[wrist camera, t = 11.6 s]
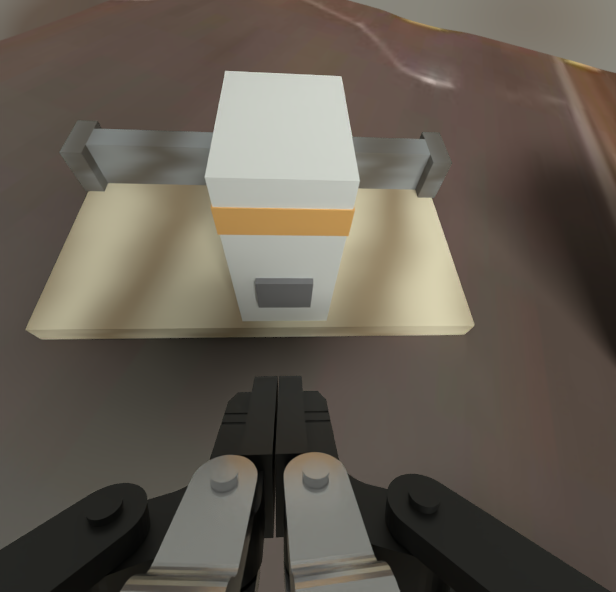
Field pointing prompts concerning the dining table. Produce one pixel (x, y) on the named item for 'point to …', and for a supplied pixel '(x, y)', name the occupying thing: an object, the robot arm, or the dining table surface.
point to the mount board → (210, 254)
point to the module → (282, 190)
